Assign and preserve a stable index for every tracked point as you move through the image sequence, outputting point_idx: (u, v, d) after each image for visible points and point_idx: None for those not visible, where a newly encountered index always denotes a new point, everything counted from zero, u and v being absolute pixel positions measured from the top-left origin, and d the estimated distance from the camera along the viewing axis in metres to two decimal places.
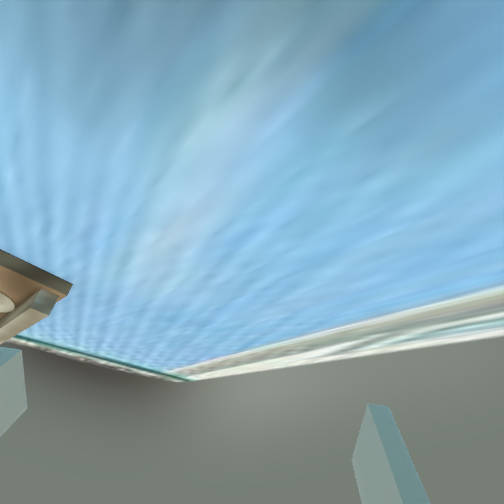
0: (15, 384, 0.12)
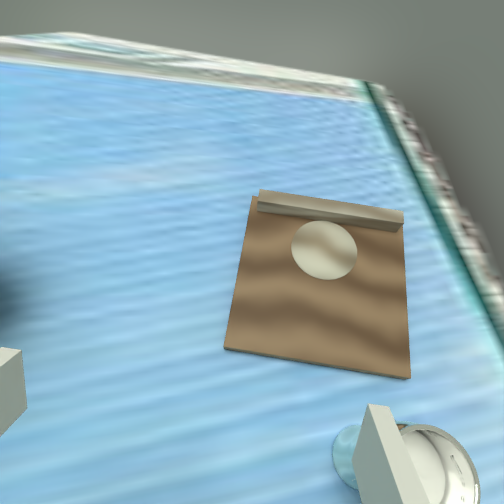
0: (15, 384, 0.12)
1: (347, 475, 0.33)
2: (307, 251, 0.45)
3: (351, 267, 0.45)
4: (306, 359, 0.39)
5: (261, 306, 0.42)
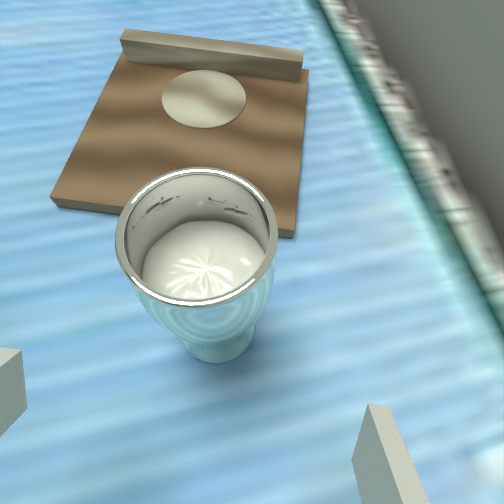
0: (15, 384, 0.12)
1: None
2: (181, 99, 0.36)
3: (235, 115, 0.35)
4: None
5: (110, 155, 0.32)
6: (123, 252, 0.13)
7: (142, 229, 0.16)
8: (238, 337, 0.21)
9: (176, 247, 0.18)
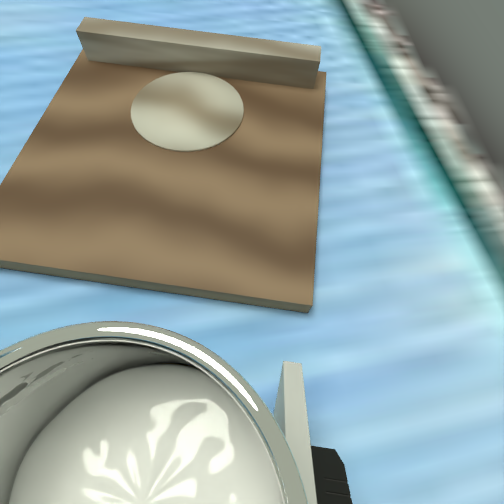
0: None
1: None
2: (157, 111, 0.27)
3: (228, 133, 0.26)
4: (114, 274, 0.21)
5: (53, 190, 0.23)
6: None
7: None
8: None
9: (85, 445, 0.08)
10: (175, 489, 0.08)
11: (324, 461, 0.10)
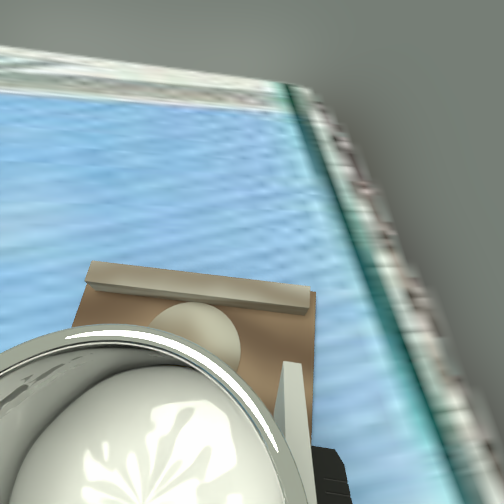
0: None
1: None
2: None
3: None
4: None
5: None
6: None
7: None
8: None
9: (85, 447, 0.08)
10: (175, 491, 0.08)
11: (324, 461, 0.10)
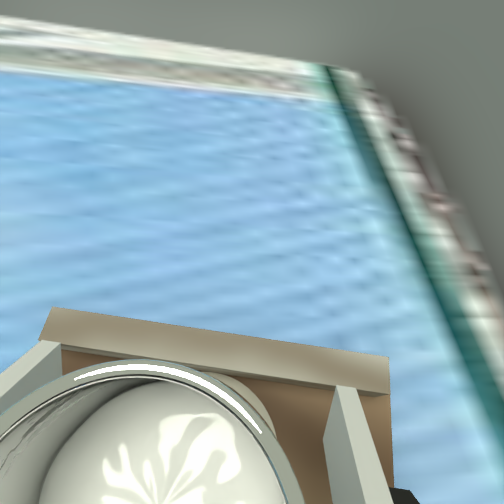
0: (55, 375, 0.13)
1: None
2: None
3: None
4: None
5: None
6: None
7: (20, 461, 0.08)
8: None
9: (105, 457, 0.09)
10: (188, 497, 0.09)
11: None
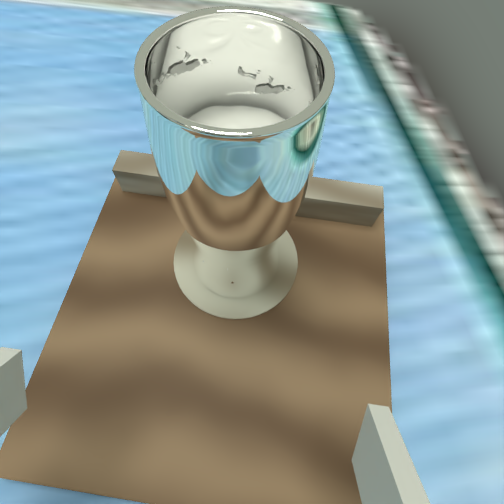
0: (15, 384, 0.12)
1: (200, 261, 0.21)
2: None
3: (283, 293, 0.23)
4: None
5: (92, 378, 0.21)
6: (145, 81, 0.10)
7: (163, 93, 0.14)
8: (266, 253, 0.18)
9: None
10: None
11: None
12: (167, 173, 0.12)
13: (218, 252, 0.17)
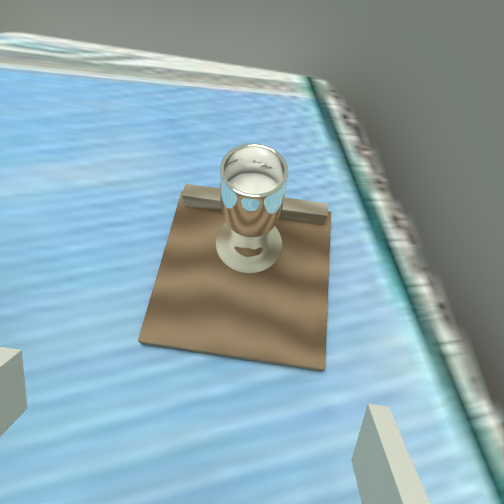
0: (15, 384, 0.12)
1: (231, 242, 0.42)
2: None
3: (274, 260, 0.45)
4: (220, 352, 0.39)
5: (179, 300, 0.42)
6: (225, 177, 0.32)
7: (224, 173, 0.35)
8: (265, 237, 0.40)
9: (237, 184, 0.36)
10: (259, 191, 0.36)
11: None
12: (228, 205, 0.34)
13: (244, 236, 0.38)
